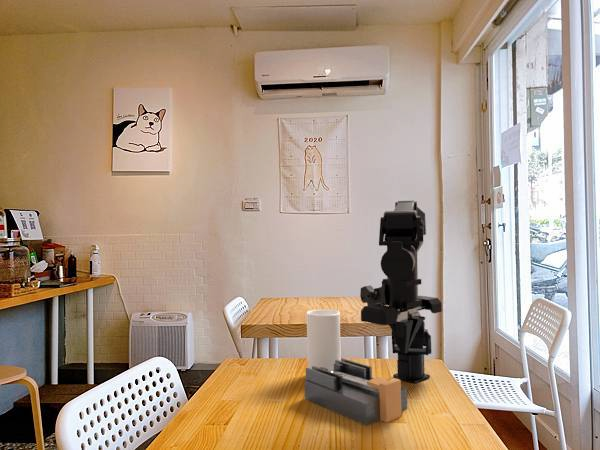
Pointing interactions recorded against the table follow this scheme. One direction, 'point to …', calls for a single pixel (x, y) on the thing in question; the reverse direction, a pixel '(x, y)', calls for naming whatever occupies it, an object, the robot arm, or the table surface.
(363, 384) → the strap
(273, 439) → the table surface
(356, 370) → the slotted grey stand
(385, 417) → the tan piece
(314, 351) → the cup
